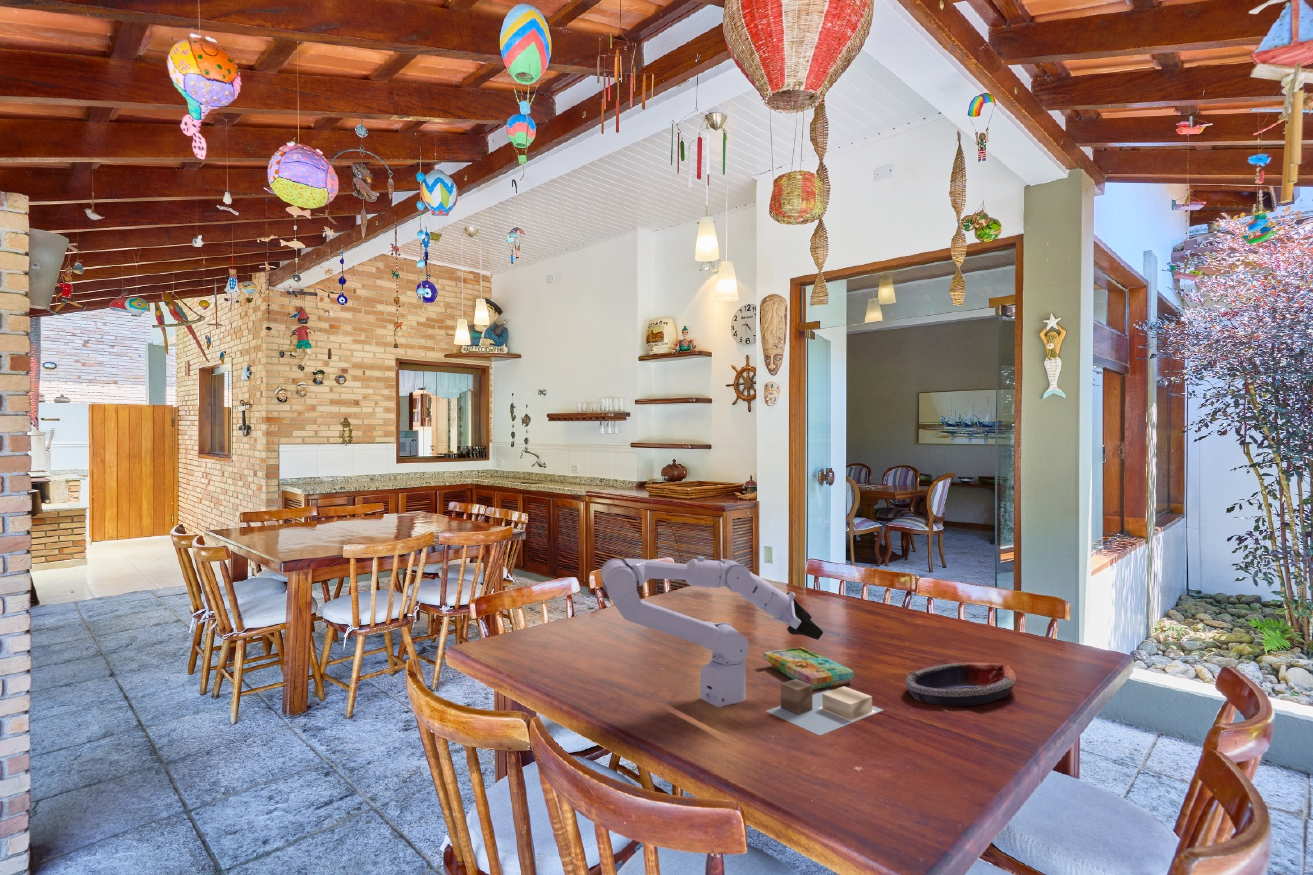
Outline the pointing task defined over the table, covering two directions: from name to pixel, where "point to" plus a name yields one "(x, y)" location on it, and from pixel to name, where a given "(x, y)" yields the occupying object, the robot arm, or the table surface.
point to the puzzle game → (809, 667)
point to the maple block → (847, 702)
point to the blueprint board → (818, 717)
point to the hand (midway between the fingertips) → (814, 627)
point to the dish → (961, 683)
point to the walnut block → (796, 696)
